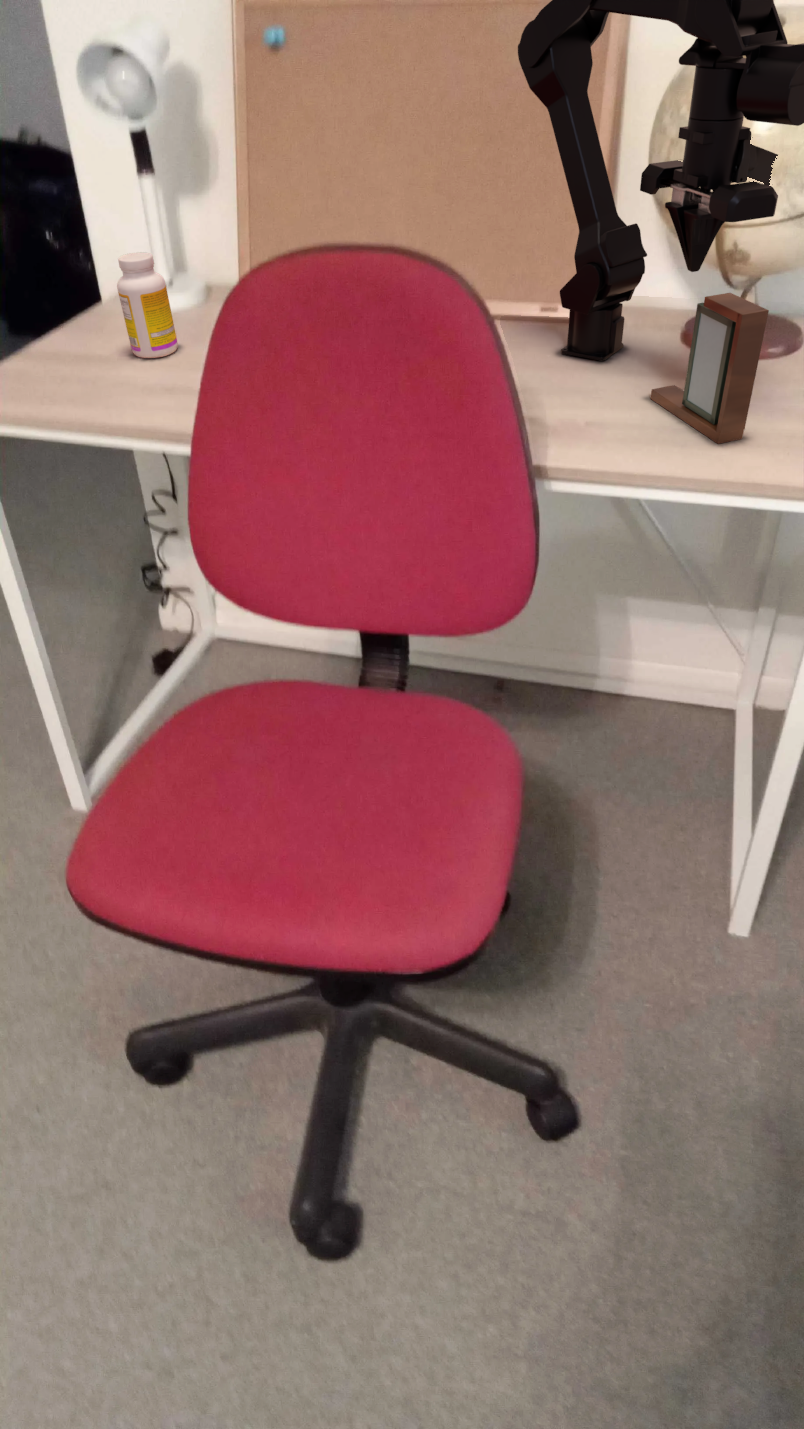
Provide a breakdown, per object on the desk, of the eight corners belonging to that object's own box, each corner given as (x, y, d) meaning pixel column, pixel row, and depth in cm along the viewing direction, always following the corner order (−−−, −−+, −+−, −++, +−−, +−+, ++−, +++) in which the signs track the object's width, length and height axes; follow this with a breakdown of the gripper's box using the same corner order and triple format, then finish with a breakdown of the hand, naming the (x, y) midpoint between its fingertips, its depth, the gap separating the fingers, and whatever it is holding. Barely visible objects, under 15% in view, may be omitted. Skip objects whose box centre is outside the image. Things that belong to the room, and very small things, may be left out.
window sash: (681, 404, 110) (697, 303, 103) (687, 402, 110) (703, 302, 103) (713, 425, 105) (732, 320, 98) (719, 423, 106) (739, 319, 98)
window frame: (650, 398, 115) (666, 278, 106) (672, 394, 116) (690, 274, 107) (718, 444, 104) (742, 314, 95) (742, 439, 105) (769, 310, 96)
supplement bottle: (185, 344, 138) (167, 250, 129) (168, 360, 133) (148, 263, 124) (143, 343, 139) (123, 249, 131) (124, 358, 134) (102, 262, 126)
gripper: (836, 120, 96) (800, 281, 106) (729, 99, 109) (707, 243, 120) (743, 132, 93) (716, 296, 103) (646, 108, 107) (630, 255, 117)
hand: (693, 270), depth 111 cm, fingers closed
